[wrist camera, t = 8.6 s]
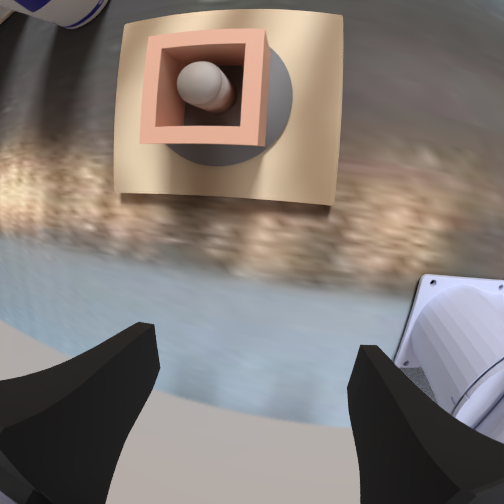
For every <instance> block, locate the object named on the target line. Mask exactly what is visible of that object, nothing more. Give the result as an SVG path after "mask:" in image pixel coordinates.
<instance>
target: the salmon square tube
mask: <svg viewBox="0 0 504 504" xmlns="http://www.w3.org/2000/svg"><path fill="white" fill-rule="evenodd" d="M270 59H271V53H270V48H269V44H268V40H267V35H266V31H265V29H254V28H243V29H213V30H199V31H188V32H178V33H170V34H163V35H156V36H149V37H148V44H147V52H146V61H145V70H144V80H143V91H142V105H141V121H140V144H221V145H246V146H263V147H265V140H266V124H267V108H268V92H269V76H270ZM200 61H205V62H210V63H213V64H214V65H216V66H234V65H239V66H244V75H243V90H242V105H241V121H240V127H238V126H184V113H185V101H184V100H183V99H182V98H181V97H180V95H179V93H178V89H177V79H178V76H179V74H180V72H181V71H182V70H183V69H184V68H185V67H186V66H187V65H189V64H191V63H194V62H200Z"/></svg>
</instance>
